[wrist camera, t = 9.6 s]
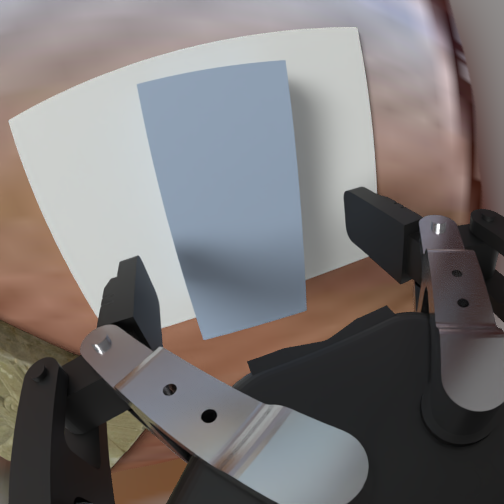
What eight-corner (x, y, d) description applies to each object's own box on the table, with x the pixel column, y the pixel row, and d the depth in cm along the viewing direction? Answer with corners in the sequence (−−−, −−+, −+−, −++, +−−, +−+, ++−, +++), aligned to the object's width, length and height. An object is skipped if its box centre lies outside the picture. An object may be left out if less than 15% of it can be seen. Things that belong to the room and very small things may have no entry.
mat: (114, 336, 20) (113, 342, 19) (12, 119, 12) (8, 120, 11) (373, 248, 22) (377, 252, 21) (351, 28, 14) (356, 27, 14)
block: (143, 87, 13) (136, 84, 10) (256, 66, 14) (285, 60, 10) (193, 294, 19) (203, 340, 16) (281, 271, 20) (306, 310, 16)
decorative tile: (164, 380, 23) (168, 415, 20) (94, 466, 28) (95, 490, 25) (-50, 279, 14) (-71, 309, 11) (-47, 408, 19) (-54, 432, 16)
